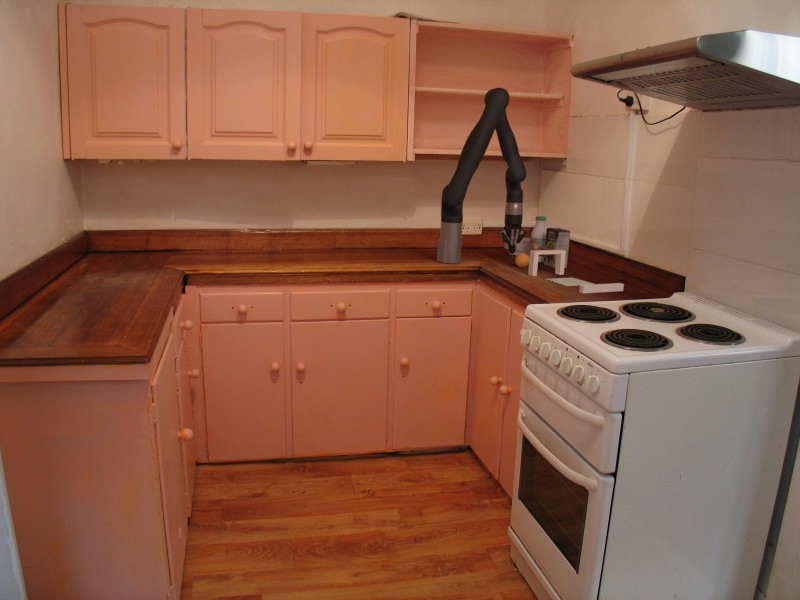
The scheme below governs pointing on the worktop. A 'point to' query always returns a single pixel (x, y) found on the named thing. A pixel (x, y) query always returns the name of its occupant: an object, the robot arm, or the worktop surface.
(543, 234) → the milk bottle
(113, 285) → the worktop surface
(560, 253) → the bridge
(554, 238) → the coffee box
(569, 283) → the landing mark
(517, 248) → the paper bowls
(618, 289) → the stopper strip
